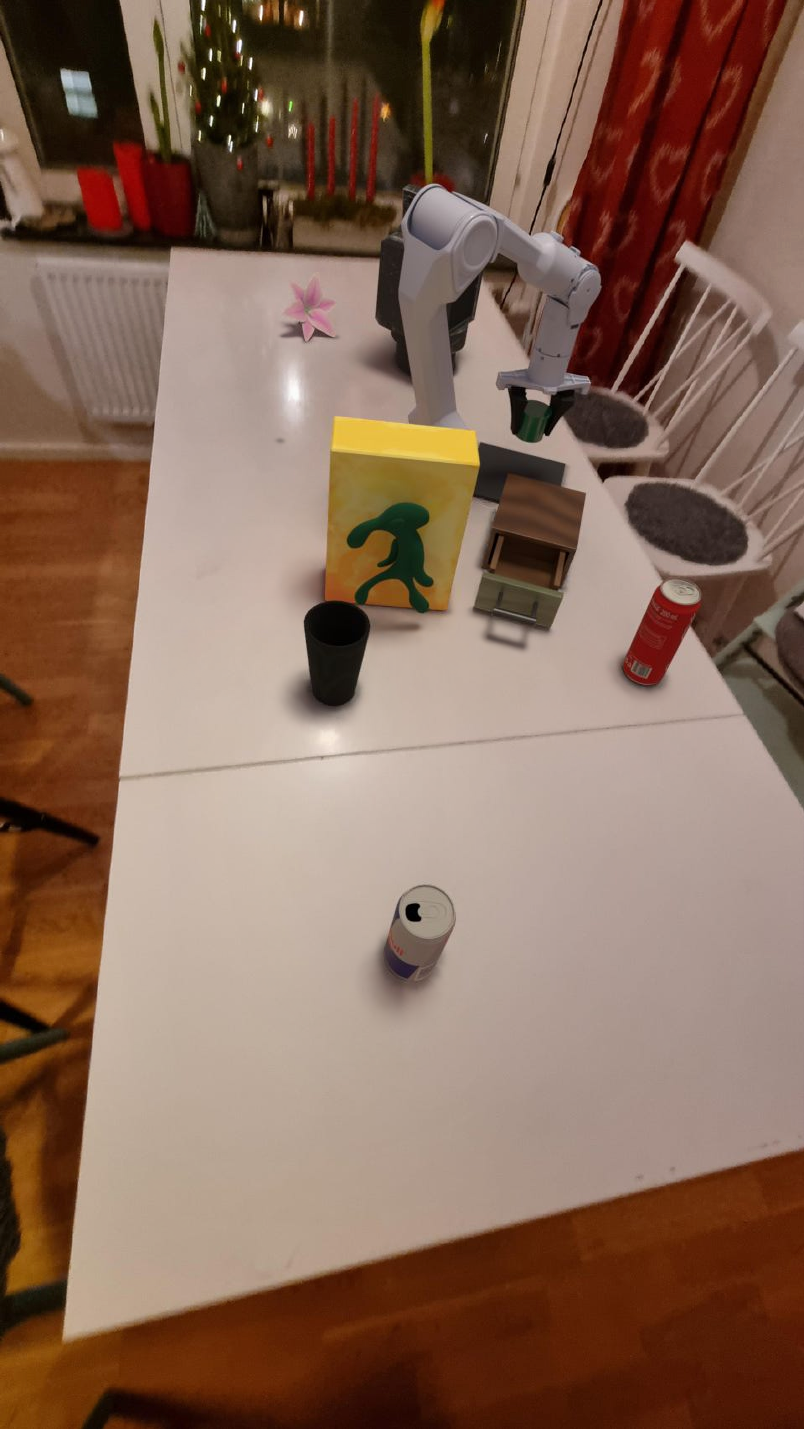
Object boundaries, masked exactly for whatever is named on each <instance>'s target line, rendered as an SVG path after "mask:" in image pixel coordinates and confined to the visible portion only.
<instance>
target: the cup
mask: <svg viewBox="0 0 804 1429" xmlns="http://www.w3.org/2000/svg"><path fill="white" fill-rule="evenodd" d="M371 626H372V625H371V620H370V617H369V616H368V615H367V613H366V612H365V611H364V610H363V609H362V608H361V607H359V605H356V604H355V603H349V602H345V601H337V600H334V601H326V600H325V601H322V602H319V603H318V604H315V605H314V606H313V607H311V608H310V609H308V611H307V612H306V614H305V615H304V619H303V631H304V638H305V647H306V655H307V664H308V671H309V678H310V679H309V680H310V689H311V693H312V695H313V697H314V698H315V700H316V701H318V702H319V703H321V705H322V704H323V705H325V706H328V707H339V706H340V707H341V706H343V705H346V704H347V703H350V701H351V700H352V699H353V698H354V696H355V694H356V690H357V685H358V681H359V676H360V672H361V668H362V665H363V661H364V656H365V652H366V649H367V644H368V640H369V636H370V633H371V628H372V627H371Z"/></svg>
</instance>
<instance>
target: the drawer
mask: <svg viewBox="0 0 804 1429" xmlns="http://www.w3.org/2000/svg"><path fill="white" fill-rule="evenodd" d="M565 554H566V551H563V550H559V549H556V548H552V547H548V546H544V545H540V544H537V543H533V542H529V541H525V540H521V539H518V538H514V537H510V536H506V535H502V534H499V537H498V541H497V544H496V548H495V551H494V555H493V558H492V562H491V565H490V569H488V571H483V572H482V575H481V578H480V583H479V586H478V590H477V594H476V596H475V600H474V604H473V607H474V608H476V609H480V610H484V611H487V612H491V617H493V618H496V619H500V620H504V621H508V622H511V623H516V624H519V625H522V626H526V627H529V628H535V627H536V625H540V626H543V627H547V628H552V626H553V623H554V621H555V618H556V616H557V614H558V611H559V609H560V606H561V603H562V601H563V599H564V592H563V591H559V589H560V588H559V586H560V581H561V576H562V570H563V565H564V559H565Z"/></svg>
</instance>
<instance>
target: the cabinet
mask: <svg viewBox="0 0 804 1429" xmlns="http://www.w3.org/2000/svg"><path fill="white" fill-rule="evenodd" d="M586 498H587V492H584V491H580V490H576V489H572V488H568V487H565V486H562V485H561V486H557V485H553V484H549V483H545V482H541V481H538V480H534V479H530V478H526V477H522V476H518V475H514V474H510V473H508V476H507V479H506V483H505V486H504V489H503V493H502V496H501V499H500V502H499V503H498V506H497V509H496V513H495V515H494V520H493V523H492V526H491V530H490V533H489V537H488V541H487V545H486V548H485V552H484V555H483V560H482V563H481V568H483V569H487V570H489V569H490V565H491V562H492V558H493V555H494V551H495V548H496V544H497V541H498V537H499V534H502V535H506V536H510V537H514V538H518V539H521V540H525V541H529V542H533V543H537V544H540V545H544V546H548V547H552V548H556V549H559V550H563V551H566V554H565V559H564V565H563V570H562V576H561V581H560V586H559V589H562V588H563V584H564V582H565V579H566V577H567V575H568V572H569V570H570V568H571V565H572V563H573V560H574V557H575V555H576V552H577V549H578V544H579V539H580V534H581V533H580V532H581V527H582V522H583V514H584V509H585V505H586V504H585V503H586Z"/></svg>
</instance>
